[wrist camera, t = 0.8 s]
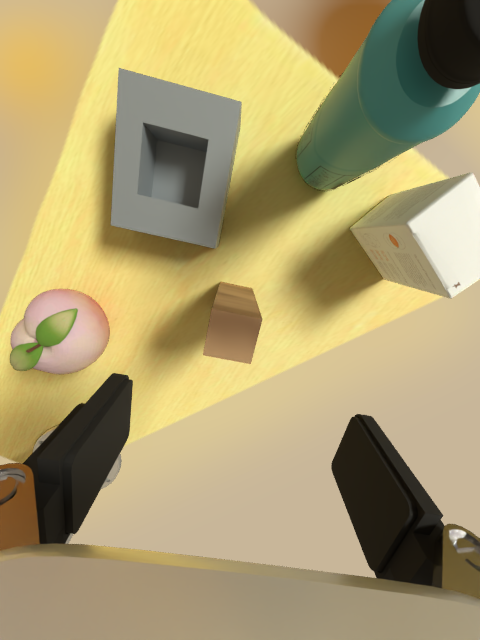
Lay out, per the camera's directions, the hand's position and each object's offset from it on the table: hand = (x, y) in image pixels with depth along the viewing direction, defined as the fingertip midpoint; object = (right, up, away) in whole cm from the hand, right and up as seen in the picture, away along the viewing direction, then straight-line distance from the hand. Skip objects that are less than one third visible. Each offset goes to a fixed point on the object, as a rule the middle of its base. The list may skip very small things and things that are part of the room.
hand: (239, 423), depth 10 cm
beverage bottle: (+9, +21, +16) cm, 28 cm away
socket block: (-6, +19, +16) cm, 26 cm away
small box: (+17, +14, +19) cm, 29 cm away
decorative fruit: (-19, +5, +21) cm, 29 cm away
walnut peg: (-1, +7, +21) cm, 22 cm away
